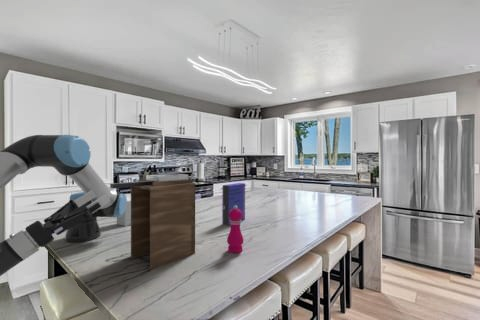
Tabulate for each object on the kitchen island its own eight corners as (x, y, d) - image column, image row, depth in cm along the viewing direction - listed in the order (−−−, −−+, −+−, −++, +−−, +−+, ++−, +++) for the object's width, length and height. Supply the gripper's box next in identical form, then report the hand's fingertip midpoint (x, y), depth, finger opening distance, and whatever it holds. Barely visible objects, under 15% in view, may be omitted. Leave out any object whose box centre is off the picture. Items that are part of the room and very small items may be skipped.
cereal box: (239, 218, 165) (239, 182, 164) (244, 219, 162) (245, 183, 161) (222, 224, 150) (222, 185, 150) (228, 225, 148) (228, 185, 147)
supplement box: (138, 223, 151) (138, 198, 151) (125, 226, 144) (125, 201, 143) (129, 221, 156) (129, 197, 156) (116, 224, 149) (116, 199, 148)
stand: (130, 256, 102) (130, 180, 101) (172, 243, 117) (173, 177, 116) (151, 268, 91) (151, 183, 90) (195, 253, 105) (195, 179, 105)
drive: (106, 186, 91) (106, 175, 91) (175, 181, 113) (175, 171, 113) (117, 189, 85) (117, 177, 85) (188, 182, 106) (188, 172, 106)
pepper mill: (237, 255, 104) (238, 207, 103) (223, 251, 108) (224, 205, 107) (246, 249, 110) (246, 204, 110) (233, 246, 114) (233, 203, 113)
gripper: (30, 239, 62) (108, 190, 75) (18, 221, 79) (83, 183, 92) (49, 260, 65) (121, 209, 78) (33, 238, 82) (94, 199, 95)
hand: (101, 195), depth 85 cm, fingers open, 13 cm apart
